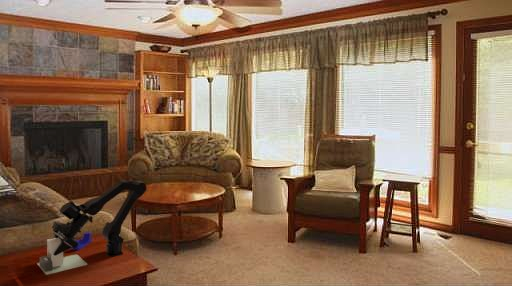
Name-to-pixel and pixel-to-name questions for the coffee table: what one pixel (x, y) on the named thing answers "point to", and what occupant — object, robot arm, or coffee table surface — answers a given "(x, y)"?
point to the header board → (68, 263)
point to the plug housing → (51, 248)
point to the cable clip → (83, 241)
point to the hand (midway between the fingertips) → (51, 252)
